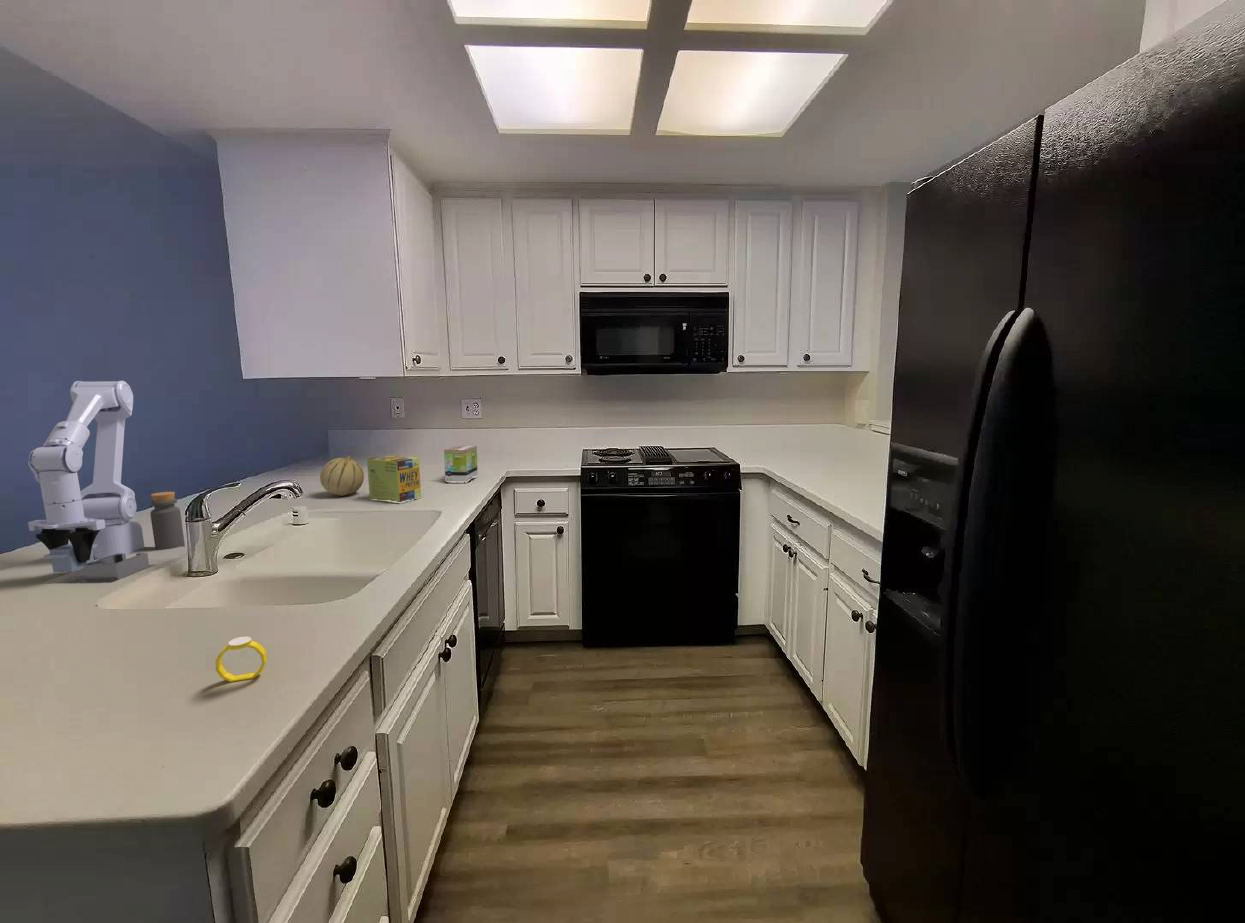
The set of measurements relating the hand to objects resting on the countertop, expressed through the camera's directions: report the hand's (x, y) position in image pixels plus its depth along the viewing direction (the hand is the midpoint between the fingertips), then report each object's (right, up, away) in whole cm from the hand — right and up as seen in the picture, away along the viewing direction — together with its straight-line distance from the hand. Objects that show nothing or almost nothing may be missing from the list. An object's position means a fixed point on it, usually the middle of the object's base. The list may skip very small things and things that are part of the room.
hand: (73, 561), depth 117 cm
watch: (+66, -10, -39) cm, 77 cm away
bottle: (+4, -1, +21) cm, 21 cm away
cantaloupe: (+14, +9, +86) cm, 88 cm away
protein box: (+38, +8, +79) cm, 88 cm away
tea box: (+51, +13, +116) cm, 127 cm away
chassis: (+5, -4, +1) cm, 6 cm away
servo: (0, -2, 0) cm, 2 cm away
